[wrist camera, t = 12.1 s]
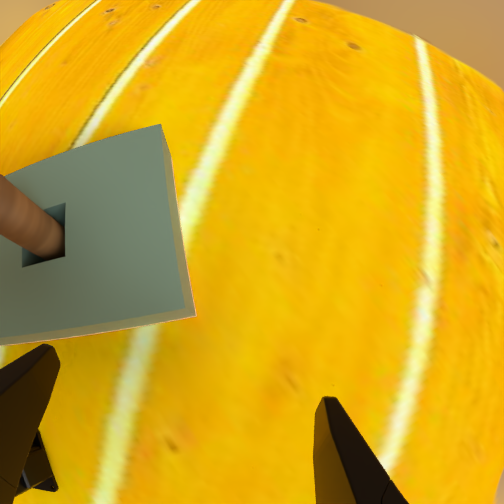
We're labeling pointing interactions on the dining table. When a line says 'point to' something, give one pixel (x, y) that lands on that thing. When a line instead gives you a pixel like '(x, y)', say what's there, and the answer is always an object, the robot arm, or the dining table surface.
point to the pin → (29, 224)
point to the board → (99, 244)
